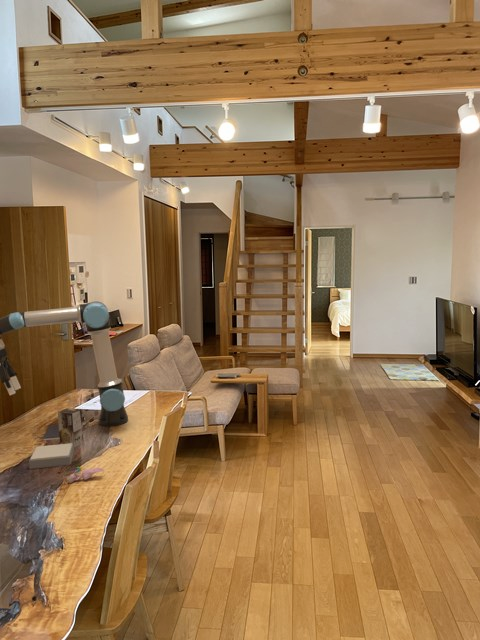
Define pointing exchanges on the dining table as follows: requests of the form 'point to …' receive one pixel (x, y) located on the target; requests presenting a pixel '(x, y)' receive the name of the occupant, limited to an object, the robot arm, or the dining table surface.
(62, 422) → the coffee box
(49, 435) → the notebook
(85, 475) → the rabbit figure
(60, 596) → the dining table surface
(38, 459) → the pedestal
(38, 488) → the dining table surface
